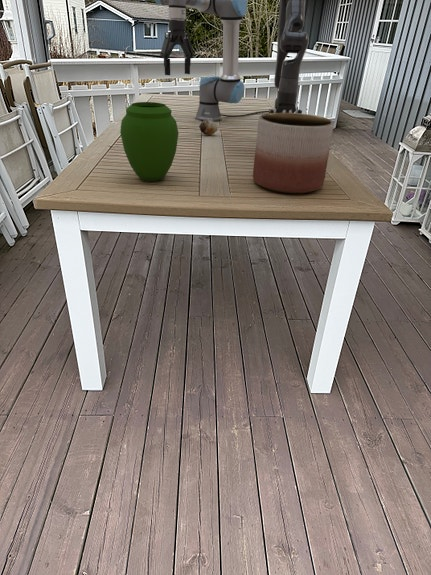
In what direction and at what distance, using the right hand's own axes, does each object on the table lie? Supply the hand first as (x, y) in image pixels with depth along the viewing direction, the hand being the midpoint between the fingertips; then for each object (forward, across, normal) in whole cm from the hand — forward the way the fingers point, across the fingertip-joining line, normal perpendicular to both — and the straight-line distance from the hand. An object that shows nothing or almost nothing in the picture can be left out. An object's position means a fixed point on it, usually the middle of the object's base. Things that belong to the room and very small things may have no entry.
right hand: (282, 135), depth 170 cm
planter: (+10, -9, -31) cm, 34 cm away
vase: (+11, -56, -21) cm, 61 cm away
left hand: (-18, -37, +45) cm, 61 cm away
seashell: (+10, -21, +49) cm, 54 cm away
